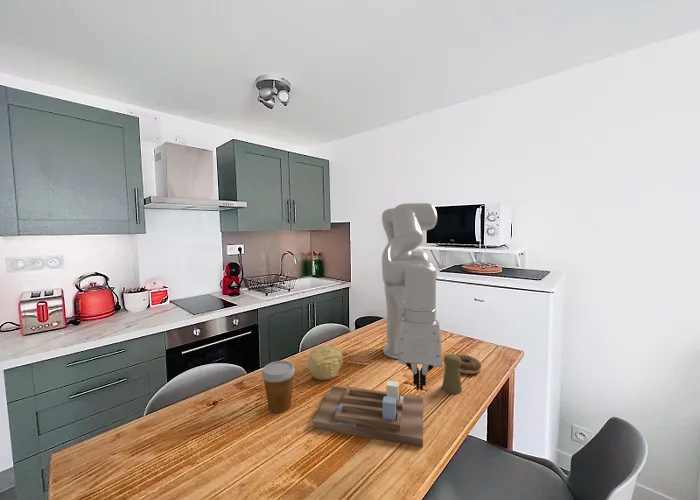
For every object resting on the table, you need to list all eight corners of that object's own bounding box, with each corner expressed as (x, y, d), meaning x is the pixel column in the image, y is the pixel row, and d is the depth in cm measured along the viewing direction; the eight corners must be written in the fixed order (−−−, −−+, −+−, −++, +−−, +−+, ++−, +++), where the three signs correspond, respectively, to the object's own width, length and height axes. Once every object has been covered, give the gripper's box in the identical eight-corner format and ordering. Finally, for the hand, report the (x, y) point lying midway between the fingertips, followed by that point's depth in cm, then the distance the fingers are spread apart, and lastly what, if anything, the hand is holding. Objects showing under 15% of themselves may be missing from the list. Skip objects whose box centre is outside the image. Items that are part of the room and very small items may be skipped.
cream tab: (387, 398, 85) (387, 380, 85) (398, 400, 84) (398, 381, 84) (386, 403, 83) (386, 385, 82) (397, 405, 82) (397, 386, 81)
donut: (449, 373, 104) (449, 362, 104) (450, 360, 114) (450, 350, 114) (482, 378, 100) (482, 367, 100) (480, 365, 110) (480, 354, 110)
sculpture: (315, 387, 96) (314, 356, 95) (303, 371, 106) (302, 343, 105) (346, 379, 101) (346, 348, 100) (332, 364, 112) (331, 337, 111)
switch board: (332, 392, 93) (332, 382, 93) (423, 404, 86) (423, 393, 86) (313, 428, 77) (312, 416, 76) (422, 446, 70) (422, 433, 69)
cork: (463, 395, 90) (464, 360, 89) (443, 393, 92) (443, 359, 91) (460, 384, 96) (460, 352, 95) (441, 382, 98) (441, 351, 97)
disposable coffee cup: (301, 400, 89) (300, 362, 88) (285, 420, 80) (283, 378, 79) (275, 394, 92) (273, 358, 91) (256, 413, 83) (254, 372, 82)
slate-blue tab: (383, 415, 78) (383, 396, 77) (396, 417, 77) (396, 397, 76) (382, 422, 75) (382, 402, 75) (395, 424, 74) (395, 403, 74)
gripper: (387, 317, 70) (387, 391, 71) (453, 321, 66) (452, 399, 67) (390, 309, 77) (391, 376, 78) (450, 312, 73) (449, 383, 74)
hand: (419, 387), depth 73 cm, fingers closed
